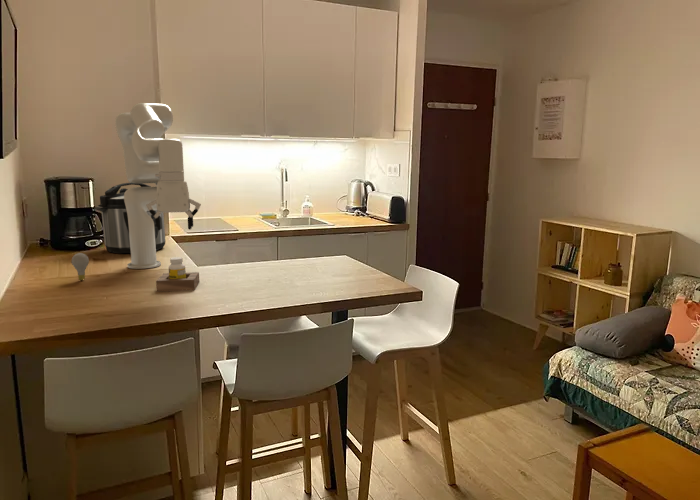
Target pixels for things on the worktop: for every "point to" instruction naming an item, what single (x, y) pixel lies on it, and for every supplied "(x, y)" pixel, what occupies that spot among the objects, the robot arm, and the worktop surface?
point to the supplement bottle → (177, 268)
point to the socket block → (177, 282)
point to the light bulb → (80, 264)
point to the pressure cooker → (122, 221)
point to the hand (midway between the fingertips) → (175, 229)
